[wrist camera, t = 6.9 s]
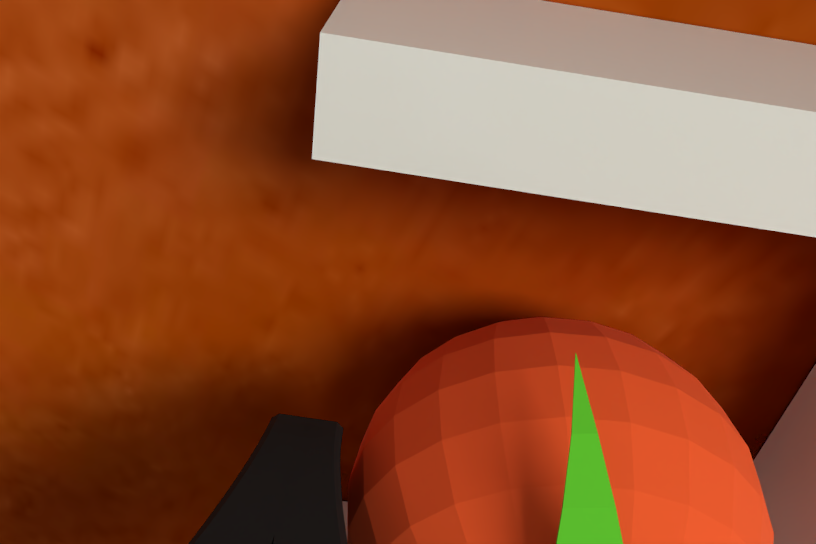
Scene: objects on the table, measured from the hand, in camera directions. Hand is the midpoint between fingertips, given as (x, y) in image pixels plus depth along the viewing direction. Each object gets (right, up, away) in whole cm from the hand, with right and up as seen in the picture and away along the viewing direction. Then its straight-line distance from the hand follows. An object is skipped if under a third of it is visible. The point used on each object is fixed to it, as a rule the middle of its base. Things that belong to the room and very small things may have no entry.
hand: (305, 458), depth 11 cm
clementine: (+4, +1, +3) cm, 5 cm away
